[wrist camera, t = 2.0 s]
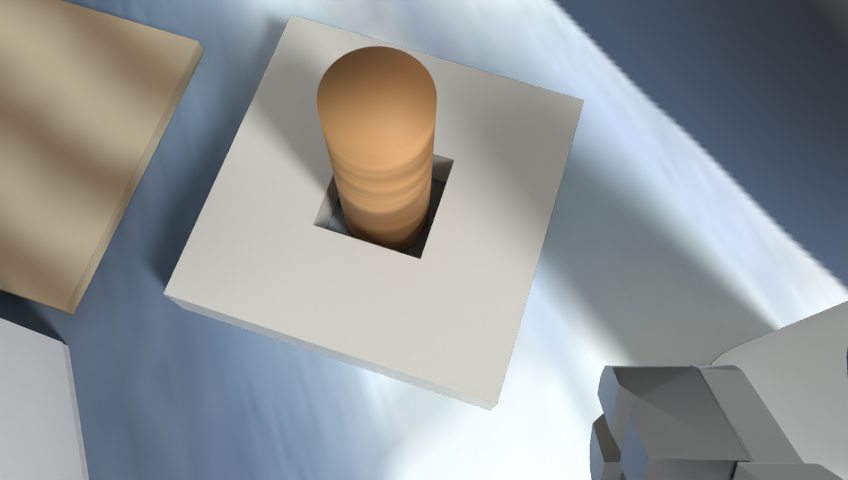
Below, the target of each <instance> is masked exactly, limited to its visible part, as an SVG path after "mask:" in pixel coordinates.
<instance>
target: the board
mask: <svg viewBox="0 0 848 480" xmlns="http://www.w3.org/2000/svg"><path fill="white" fill-rule="evenodd" d="M203 53H204V51H203V49H202V47H201V44H200V42H199V41H196V40H193V39H189V38H186V37H183V36H179V35H176V34H173V33H169V32H166V31H163V30H159V29H156V28H153V27H149V26H146V25H143V24H139V23H136V22H132V21H129V20H126V19H122V18H119V17H116V16H112V15H109V14H106V13H102V12H99V11H96V10H92V9H89V8H86V7H82V6H79V5H76V4H72V3H69V2H66V1H62V0H0V290H1V291H4V292H7V293H10V294H13V295H16V296H19V297H22V298H25V299H28V300H31V301H34V302H36V303H39V304H42V305H45V306H48V307H51V308H54V309H57V310H60V311H63V312H66V313H69V314H72V315H74V313H75V311H76V309H77V307H78V305H79V303H80V301H81V299H82V297H83V295H84V293H85V291H86V289H87V287H88V285H89V283H90V281H91V279H92V277H93V275H94V273H95V271H96V269H97V267H98V265H99V263H100V261H101V259H102V257H103V255H104V253H105V251H106V249H107V247H108V245H109V243H110V241H111V239H112V236H113V234H114V232H115V230H116V228H117V226H118V224H119V222H120V220H121V218H122V216H123V214H124V212H125V210H126V208H127V206H128V204H129V202H130V200H131V198H132V196H133V194H134V192H135V190H136V188H137V186H138V184H139V182H140V180H141V178H142V176H143V174H144V172H145V170H146V168H147V166H148V164H149V162H150V160H151V158H152V156H153V154H154V152H155V150H156V148H157V146H158V144H159V142H160V140H161V138H162V135H163V133H164V131H165V129H166V127H167V125H168V123H169V121H170V119H171V117H172V115H173V113H174V111H175V109H176V107H177V105H178V103H179V101H180V99H181V97H182V95H183V93H184V91H185V89H186V87H187V85H188V83H189V81H190V79H191V77H192V75H193V73H194V71H195V69H196V67H197V65H198V63H199V61H200V59H201V57H202V55H203Z"/></svg>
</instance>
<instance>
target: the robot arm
mask: <svg viewBox="0 0 848 480" xmlns="http://www.w3.org/2000/svg"><path fill="white" fill-rule="evenodd" d="M598 397H599V400H600V403H601V406H602V409H603V412H604V413H603V414H602V415H601V416H600V417H599V418H598V419H597V420H596V421H595V422H594V423H593V425H592V433H591V440H590V472H591V479H592V480H844V479H842V478H841V477H839V476H837V475H836V474H834V473H833V472H831V471H829V470H828V469H826V468H825V467H823V466H821V465H820V464H810V463H804V462H803V461H802V459H801V458H800V456H799V455H798V453H797V452H796V450H795V449H794V447H793V446H792V444H791V443H790V441H789V440H788V438H787V437H786V435H785V434H784V432H783V431H782V429H781V428H780V426H779V425H778V423H777V422H776V420H775V419H774V417H773V416H772V414H771V413H770V411H769V410H768V408H767V407H766V405H765V404H764V402H763V401H762V399H761V398H760V396H759V395H758V393H757V392H756V390H755V389H754V387H753V386H752V384H751V383H750V381H749V380H748V378H747V377H746V375H745V374H744V372H743V371H742V369H740V368H738V367H737V366H735V365H691V366H690V367H685V366H605V367H604V369H603V372H602V374H601V377H600V383H599V388H598Z"/></svg>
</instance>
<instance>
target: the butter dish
mask: <svg viewBox="0 0 848 480" xmlns="http://www.w3.org/2000/svg"><path fill="white" fill-rule="evenodd" d="M0 480H89V478H88V471H87V465H86V458H85V451H84V445H83V438H82V432H81V425H80V419H79V412H78V406H77V399H76V393H75V386H74V380H73V373H72V367H71V360H70V354H69V347H68V346H67V345H65V344H63V342H60V341H58V340H55V339H53V338H50V337H48V336H45V335H43V334H40V333H37V332H35V331H32V330H30V329H27V328H25V327H22V326H19V325H17V324H14V323H12V322H9V321H7V320H4V319H1V318H0Z"/></svg>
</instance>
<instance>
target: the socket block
mask: <svg viewBox="0 0 848 480" xmlns="http://www.w3.org/2000/svg"><path fill="white" fill-rule="evenodd" d="M371 46H384V47H391V48H395V49H398V50H401V51H404V52H406V53H408V54H410V55H411V56H413V57H414V58H416V59H417V60H418V61H419V62H421V63H422V64H423V65H424V67H425V68H426V69H427V70H428V72H429V73H430V75H431V77H432V79H433V81H434V84H435V87H436V93H437V107H436V121H435V135H434V149H433V163H432V177H431V178H434V179H437V180H440V181H444V182H447V183H446V186H445V189H444V192H443V195H442V198H441V201H440V204H439V207H438V210H437V212H436V215H435V218H434V221H433V224H432V227H431V230H430V233H429V236H428V239H427V242H426V245H425V247H424V250H423V253H422V256H421V259H418V258H415V257H412V256H409V255H406V254H403V253H399V252H396V251H393V250H390V249H387V248H384V247H381V246H377V245H374V244H371V243H368V242H365V241H362V240H358V239H355V238H352V237H349V236H346V235H343V234H340V233H336V232H333V231H330V230H327V226H328V224H329V221H330V219H331V216H332V214H333V211H334V209H335V206H336V204H337V201H338V199H339V194H338V190H337V186H336V182H335V177H334V173H333V169H332V165H331V161H330V157H329V153H328V149H327V145H326V141H325V137H324V133H323V129H322V125H321V121H320V117H319V113H318V109H317V91H318V87H319V84H320V81H321V79H322V77H323V75H324V73H325V72H326V71H327V69H328V68H329V67H330V66H331V65H332V64H333V63H334V62H335V61H336V60H337V59H339V58H340V57H342V56H343V55H345V54H347V53H349V52H351V51H354V50H356V49H360V48H364V47H371ZM583 103H584V100H582V99H578V98H575V97H571V96H568V95H564V94H561V93H558V92H554V91H551V90H547V89H544V88H541V87H537V86H534V85H530V84H527V83H523V82H520V81H517V80H513V79H510V78H506V77H503V76H499V75H496V74H493V73H489V72H486V71H482V70H479V69H475V68H472V67H469V66H465V65H462V64H458V63H455V62H451V61H448V60H445V59H441V58H438V57H434V56H431V55H428V54H424V53H421V52H417V51H414V50H410V49H407V48H404V47H400V46H397V45H393V44H390V43H386V42H383V41H380V40H376V39H373V38H369V37H366V36H362V35H359V34H356V33H352V32H349V31H345V30H342V29H338V28H335V27H332V26H328V25H325V24H321V23H318V22H315V21H311V20H308V19H304V18H301V17H297V16H294V15H291V16H290V18H289V21H288V23H287V25H286V27H285V29H284V32H283V34H282V36H281V38H280V40H279V42H278V45H277V47H276V49H275V51H274V53H273V56H272V58H271V60H270V62H269V64H268V67H267V69H266V71H265V73H264V75H263V77H262V80H261V82H260V84H259V86H258V88H257V91H256V93H255V95H254V97H253V99H252V101H251V104H250V106H249V108H248V110H247V112H246V115H245V117H244V119H243V121H242V123H241V125H240V128H239V130H238V132H237V134H236V136H235V139H234V141H233V143H232V145H231V147H230V150H229V152H228V154H227V156H226V158H225V160H224V163H223V165H222V167H221V169H220V171H219V174H218V176H217V178H216V180H215V182H214V184H213V187H212V189H211V191H210V193H209V195H208V198H207V200H206V202H205V204H204V206H203V209H202V211H201V213H200V215H199V217H198V219H197V222H196V224H195V226H194V228H193V230H192V233H191V235H190V237H189V239H188V241H187V243H186V246H185V248H184V250H183V252H182V254H181V257H180V259H179V261H178V263H177V265H176V267H175V270H174V272H173V274H172V276H171V278H170V281H169V283H168V285H167V287H166V289H165V292H164V294H165V295H166V296H167V297H169V298H170V299H171V300H173V301H174V302H175V303H177V304H178V305H179V306H180V307H182V308H183V309H186V310H189V311H192V312H195V313H198V314H201V315H204V316H207V317H210V318H213V319H216V320H219V321H222V322H225V323H228V324H231V325H234V326H237V327H240V328H243V329H246V330H249V331H252V332H255V333H258V334H261V335H264V336H267V337H270V338H273V339H276V340H279V341H282V342H285V343H288V344H291V345H294V346H297V347H300V348H303V349H306V350H309V351H312V352H315V353H318V354H321V355H324V356H327V357H330V358H333V359H336V360H339V361H342V362H345V363H348V364H351V365H354V366H358V367H361V368H364V369H367V370H370V371H373V372H376V373H379V374H382V375H385V376H388V377H391V378H394V379H397V380H400V381H403V382H406V383H409V384H412V385H415V386H418V387H421V388H424V389H427V390H430V391H433V392H436V393H439V394H442V395H445V396H448V397H451V398H454V399H457V400H460V401H463V402H466V403H469V404H472V405H475V406H478V407H481V408H484V409H487V410H491V409H492V408H494V407H495V406H496V405H497V403H498V400H499V396H500V393H501V389H502V386H503V382H504V379H505V375H506V372H507V368H508V365H509V361H510V358H511V355H512V351H513V348H514V344H515V341H516V337H517V334H518V330H519V327H520V323H521V320H522V316H523V313H524V309H525V306H526V302H527V299H528V295H529V292H530V288H531V285H532V281H533V278H534V274H535V271H536V267H537V264H538V260H539V257H540V253H541V250H542V246H543V243H544V239H545V236H546V232H547V229H548V225H549V222H550V218H551V215H552V211H553V208H554V204H555V201H556V197H557V194H558V190H559V187H560V183H561V180H562V176H563V173H564V169H565V166H566V162H567V159H568V155H569V152H570V148H571V145H572V141H573V138H574V134H575V131H576V127H577V124H578V120H579V117H580V113H581V110H582V106H583Z"/></svg>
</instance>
